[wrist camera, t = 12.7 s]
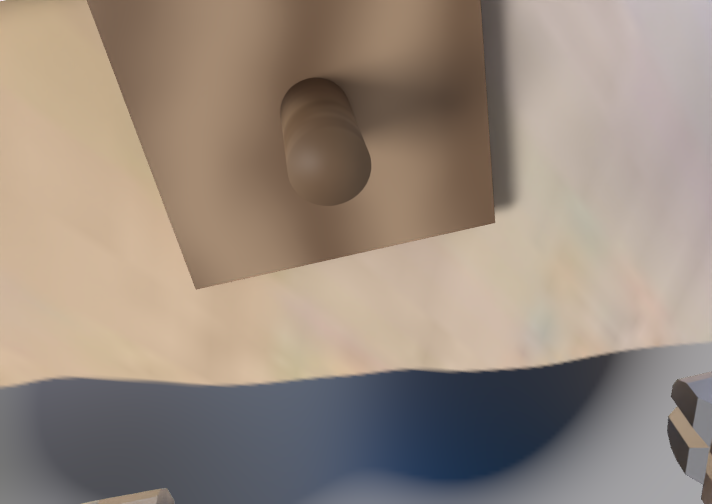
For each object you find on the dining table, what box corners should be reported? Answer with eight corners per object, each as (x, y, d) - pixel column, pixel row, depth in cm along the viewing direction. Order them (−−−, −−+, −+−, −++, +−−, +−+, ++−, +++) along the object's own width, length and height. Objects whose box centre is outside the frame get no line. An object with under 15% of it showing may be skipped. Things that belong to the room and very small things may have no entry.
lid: (465, -123, 22) (528, -111, 17) (489, 213, 29) (538, 289, 24) (77, -42, 22) (29, -6, 17) (197, 278, 29) (187, 368, 24)
